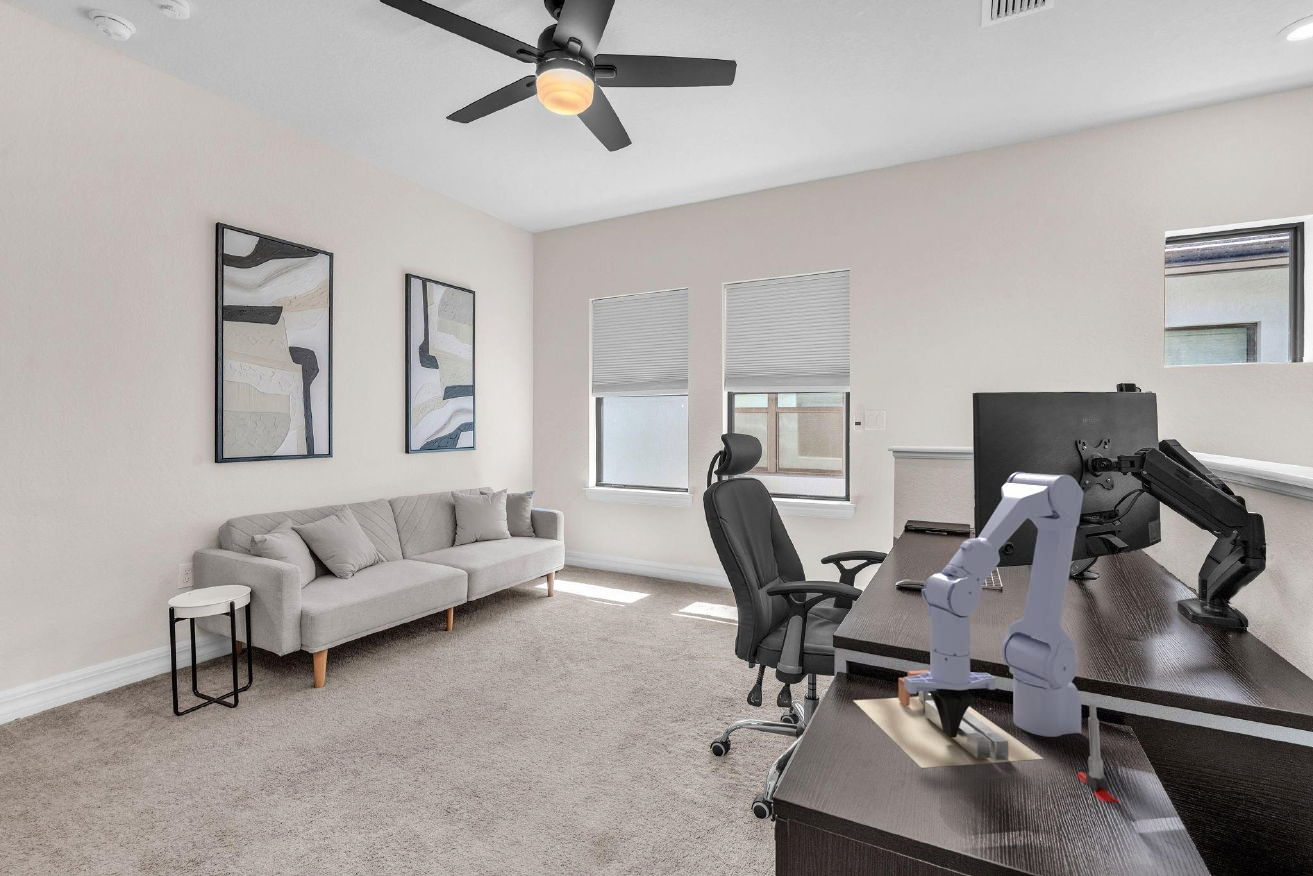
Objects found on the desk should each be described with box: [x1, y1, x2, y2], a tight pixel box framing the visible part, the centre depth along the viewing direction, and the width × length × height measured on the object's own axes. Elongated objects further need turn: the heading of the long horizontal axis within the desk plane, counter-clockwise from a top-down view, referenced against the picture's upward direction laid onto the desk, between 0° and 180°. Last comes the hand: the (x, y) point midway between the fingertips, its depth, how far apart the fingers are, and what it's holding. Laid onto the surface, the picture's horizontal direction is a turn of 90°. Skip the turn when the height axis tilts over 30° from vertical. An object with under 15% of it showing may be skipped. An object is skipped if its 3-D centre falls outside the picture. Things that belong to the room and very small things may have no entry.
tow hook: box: [1076, 702, 1119, 803], centre depth 83 cm, size 8×13×9 cm
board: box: [852, 696, 1044, 769], centre depth 100 cm, size 20×22×1 cm
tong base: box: [918, 691, 1008, 760], centre depth 100 cm, size 4×21×3 cm, turn 7°
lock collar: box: [898, 669, 930, 706], centre depth 109 cm, size 8×2×5 cm, turn 97°
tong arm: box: [925, 700, 991, 759], centre depth 96 cm, size 2×14×3 cm, turn 6°
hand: (949, 734), depth 94 cm, fingers closed
